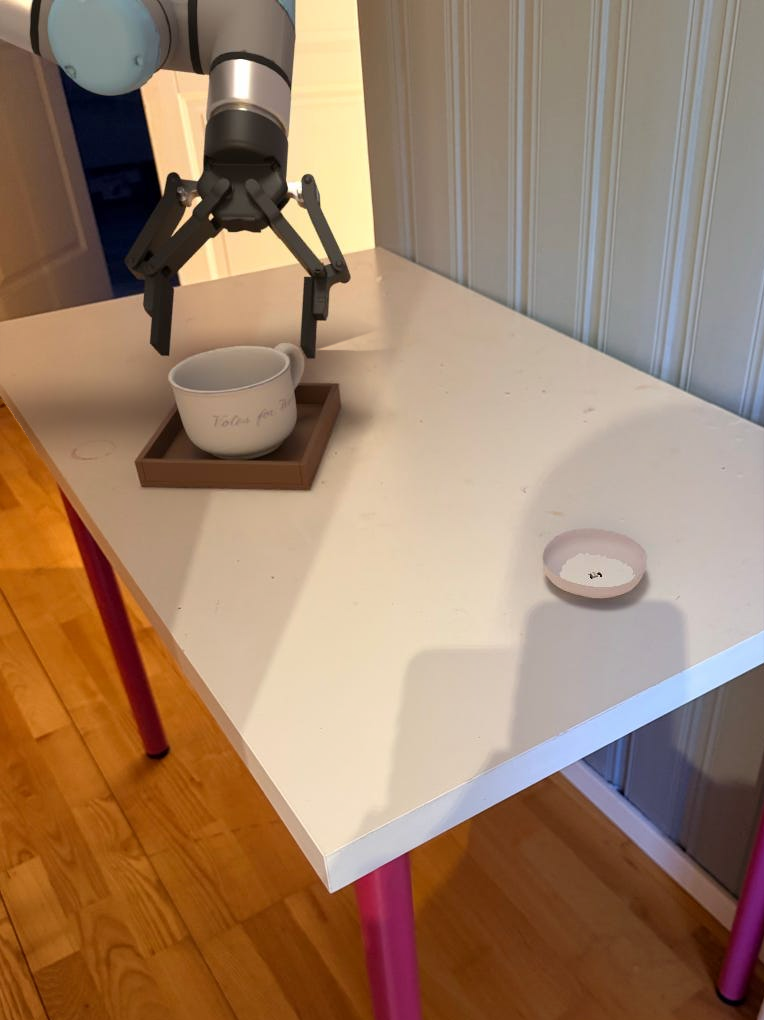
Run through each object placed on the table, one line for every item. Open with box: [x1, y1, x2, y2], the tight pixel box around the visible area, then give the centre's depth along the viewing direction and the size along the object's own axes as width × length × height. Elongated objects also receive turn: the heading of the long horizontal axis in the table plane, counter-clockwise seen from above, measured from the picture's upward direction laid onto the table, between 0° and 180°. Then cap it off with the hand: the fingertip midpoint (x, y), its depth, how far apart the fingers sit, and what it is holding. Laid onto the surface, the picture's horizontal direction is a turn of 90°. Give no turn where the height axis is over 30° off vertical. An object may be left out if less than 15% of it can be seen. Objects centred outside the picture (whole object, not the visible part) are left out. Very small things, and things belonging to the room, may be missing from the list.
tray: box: [134, 382, 342, 491], centre depth 87 cm, size 15×17×2 cm
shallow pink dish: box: [542, 528, 648, 599], centre depth 70 cm, size 8×8×2 cm
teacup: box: [167, 342, 305, 460], centre depth 85 cm, size 14×11×8 cm
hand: (233, 351), depth 83 cm, fingers open, 13 cm apart
